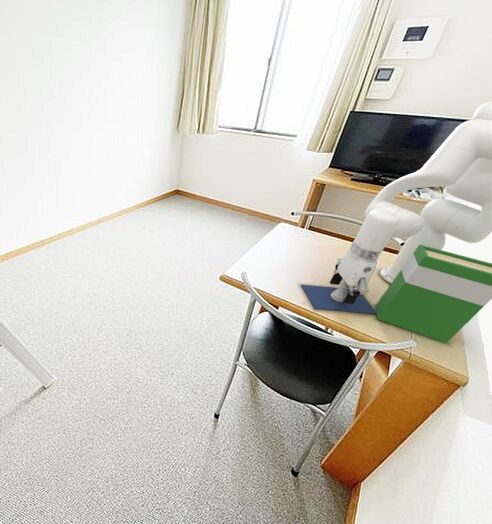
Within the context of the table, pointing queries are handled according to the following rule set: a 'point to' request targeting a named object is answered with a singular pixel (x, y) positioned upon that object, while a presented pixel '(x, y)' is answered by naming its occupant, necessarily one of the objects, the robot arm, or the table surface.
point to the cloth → (323, 300)
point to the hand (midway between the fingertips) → (340, 293)
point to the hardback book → (436, 293)
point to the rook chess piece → (340, 292)
